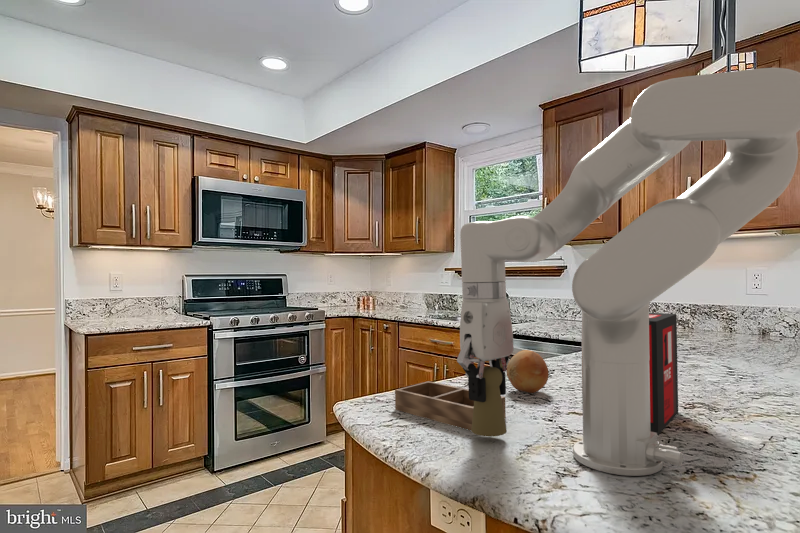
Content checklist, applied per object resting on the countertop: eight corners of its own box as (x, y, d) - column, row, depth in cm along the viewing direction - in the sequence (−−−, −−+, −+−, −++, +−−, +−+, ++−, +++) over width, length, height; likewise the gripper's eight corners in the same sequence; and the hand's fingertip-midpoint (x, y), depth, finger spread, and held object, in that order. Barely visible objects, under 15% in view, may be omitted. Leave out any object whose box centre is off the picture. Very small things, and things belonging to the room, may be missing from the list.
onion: (498, 392, 115) (497, 350, 115) (522, 385, 122) (521, 345, 122) (533, 400, 108) (532, 355, 108) (556, 392, 114) (556, 350, 115)
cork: (507, 437, 80) (504, 370, 80) (470, 435, 81) (468, 370, 81) (506, 425, 86) (504, 363, 86) (472, 424, 87) (470, 363, 87)
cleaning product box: (658, 435, 84) (656, 321, 85) (605, 425, 90) (604, 318, 90) (678, 413, 97) (676, 314, 97) (631, 405, 103) (629, 312, 103)
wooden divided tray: (505, 418, 95) (505, 397, 95) (473, 431, 88) (473, 408, 88) (428, 399, 110) (428, 381, 110) (395, 409, 102) (395, 389, 102)
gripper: (471, 295, 75) (476, 412, 75) (528, 290, 87) (532, 390, 87) (435, 295, 80) (439, 404, 80) (493, 290, 93) (497, 385, 92)
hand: (487, 396), depth 84 cm, fingers closed on cork, 5 cm apart
